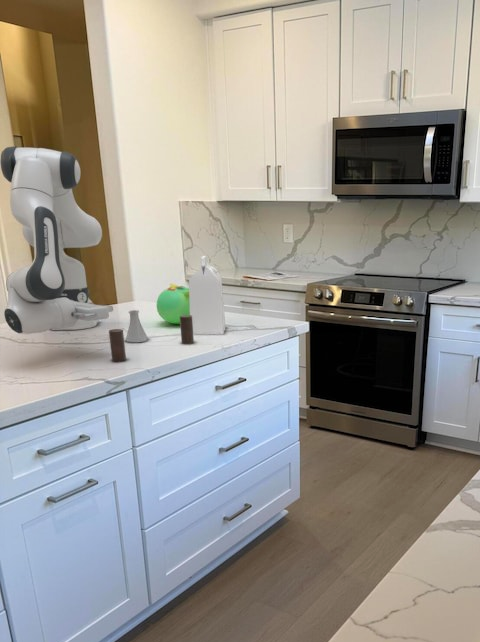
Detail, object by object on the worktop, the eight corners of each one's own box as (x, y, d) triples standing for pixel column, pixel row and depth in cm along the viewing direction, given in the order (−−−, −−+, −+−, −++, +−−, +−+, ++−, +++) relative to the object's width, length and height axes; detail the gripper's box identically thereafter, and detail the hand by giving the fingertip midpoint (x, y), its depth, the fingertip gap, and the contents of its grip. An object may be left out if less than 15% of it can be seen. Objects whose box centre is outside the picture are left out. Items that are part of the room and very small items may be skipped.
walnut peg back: (179, 343, 203) (177, 316, 199) (187, 340, 206) (186, 314, 202) (187, 344, 201) (185, 317, 197) (196, 342, 204) (194, 315, 200)
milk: (194, 327, 226) (189, 255, 217) (225, 327, 227) (221, 255, 218) (190, 334, 215) (184, 258, 206) (223, 334, 216) (219, 258, 206)
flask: (141, 343, 201) (138, 313, 198) (121, 342, 203) (118, 312, 199) (151, 338, 208) (148, 309, 204) (132, 337, 209) (129, 308, 206)
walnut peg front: (109, 360, 181) (105, 330, 178) (120, 357, 184) (116, 328, 181) (118, 362, 179) (114, 332, 176) (129, 359, 182) (125, 330, 179)
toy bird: (168, 318, 242) (165, 280, 236) (209, 319, 240) (207, 281, 234) (151, 327, 225) (147, 287, 220) (195, 329, 223) (192, 288, 218)
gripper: (83, 305, 174) (122, 299, 184) (41, 299, 184) (80, 293, 195) (85, 327, 176) (124, 320, 187) (44, 319, 187) (83, 313, 197)
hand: (101, 306), depth 191 cm, fingers open, 8 cm apart
